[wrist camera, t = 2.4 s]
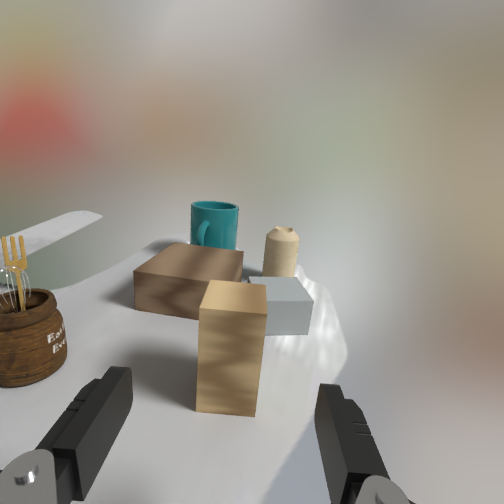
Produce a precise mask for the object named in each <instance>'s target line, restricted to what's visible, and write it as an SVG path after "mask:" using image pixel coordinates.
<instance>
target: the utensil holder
mask: <svg viewBox="0 0 504 504" xmlns="http://www.w3.org/2000/svg"><path fill="white" fill-rule="evenodd" d="M1 241H2V248H3V254H4V261H5V267H4V269H5V268H6V277H7V271H9V272H14V273H15V274H16V280H17V287H18V290H15V291H11V292H10V290H9V292H7V293H4V294H2V292H1V295H0V385H1V386H5V387H19V386H25V385H29V384H32V383H35V382H38V381H40V380H43V379H45V378H47V377H48V376H50V375H52V374H53V373H55V372H56V371H57V370H58V369H59V368H60V367H61V366H62V365H63V364H64V362H65V360H66V357H67V342H66V335H65V328H64V322H63V318H62V315H61V313H60V312H59V310H58V309H56V307H57V302H56V299H55V297H54V295H53V293H52V292H50V291H48V290H45V289H26V287H25V289H24V288H23V289H22V287H23V284H22V281H21V277H20V272H22V271H23V270H25V269H26V268H27V261H26V254H25V247H24V241H23V236H19V243H20V250H21V257H22V259H21V260H18V257H17V251H16V245H15V238H14V236H11V237H10V241H11V248H12V254H13V261H10V260H9V256H8V250H7V244H6V238H5V237H1ZM2 267H3V266H2ZM0 269H2V268H0ZM4 269H2V270H4ZM2 270H1V271H2ZM1 271H0V272H1ZM23 272H24V271H23ZM24 273H25V272H24ZM25 274H26V273H25ZM22 275H23V273H22ZM10 276H11V274H10ZM26 276H27V275H26ZM23 278H24V276H23ZM11 279H12V278H11ZM27 279H28V277H27ZM28 283H29V281H28ZM7 284H8V280H7ZM24 284H25V281H24ZM12 285H13V281H12ZM29 288H30V285H29ZM8 289H9V285H8ZM13 289H14V286H13ZM0 291H1V289H0Z"/></svg>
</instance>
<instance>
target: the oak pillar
mask: <svg viewBox="0 0 504 504" xmlns="http://www.w3.org/2000/svg"><path fill="white" fill-rule="evenodd" d="M266 321H267V297H266V285H263V284H252V283H241V282H230V281H220V280H210V282H209V285H208V287H207V290H206V292H205V295H204V297H203V300H202V303H201V305H200V308H199V334H198V364H197V394H196V412H203V413H214V414H225V415H237V416H248V417H255V411H256V403H257V395H258V387H259V378H260V370H261V362H262V354H263V346H264V338H265V329H266Z"/></svg>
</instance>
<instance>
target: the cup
mask: <svg viewBox="0 0 504 504" xmlns="http://www.w3.org/2000/svg"><path fill="white" fill-rule="evenodd" d="M238 211H239V207H238V206H236V205H234V204H231V203H225V202H216V201H198V202H193V203H192V204H191V234H190V237H191V238H190V244H191V245H198V246H206V247H214V248H221V249H229V250H236V237H237V224H238Z"/></svg>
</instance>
